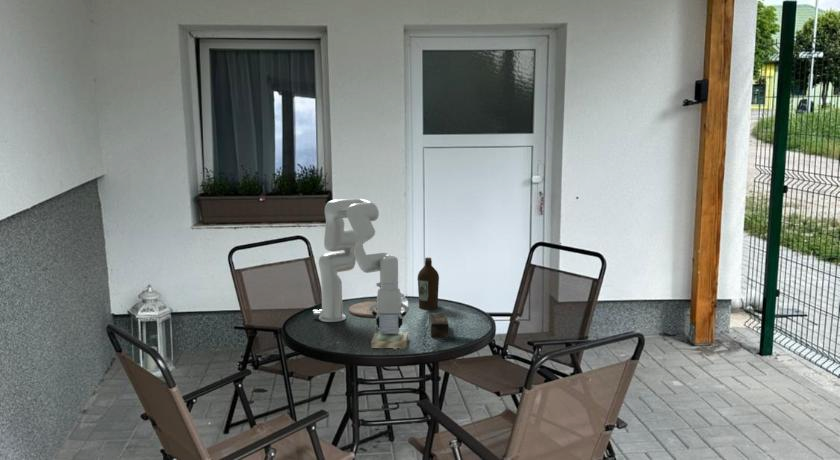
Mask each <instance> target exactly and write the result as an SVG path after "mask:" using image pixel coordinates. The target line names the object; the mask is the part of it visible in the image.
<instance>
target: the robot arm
mask: <svg viewBox="0 0 840 460" xmlns="http://www.w3.org/2000/svg"><path fill="white" fill-rule="evenodd" d="M379 214H380V213H379V209H378V207H377V205H376V204H375V203H374V202H372V201H369V200H367V199H363V198H358V197H357V198H342V199H332V200H329V201H327V203H326V204H325V206H324V216H325V230H324V238H323V239H324V240H323V241H324V242H323V245H324V249H325V250H326V251H328V252H326V253H324V254H322V255H321V256H319V258H318V266H319V268H318V269H319V272H320V273H319V274H320V281H321V283H320V284H321V285H320V286H321V308H320V309H319V310H318V309H313V310H312V313H313V315H315V316H318V315H319V316H318V320H319V321H321V322H324V323H337V322H342V321H344V320H346V318H347V316H346V315H345V313H343V282H342V279H341V277H340V276H339V275H338V273H342V272H349V271H352V270H353V269H354V268H355V266H356V263H357V265H358V267H359V269H360V270H361V271H362V272H363V273H367V274H368V273H375V272H379V282H377V283H376V287H378V289H377V293H376V294H377V295H376V301H377V303H375V304H374V305H372V306H371V307H370V308H369V309H370V311H371V312H372V314H373V315H374V316H375V317H374V318H376V321H375V323H376V326H377V328H379V314H398V316H399V319H398V327H399V329H401V327H402V326H403V318H404V317H405V316H406V315H407V313H408V312H409V311H410V307H409V306H407V305H406V304H405V303H403V302H402V295H401V290H400V288H399V259H398V257H396V256H395V255H394V256H393V255H390V254H389V253H387V252H379V253H372V254H367V253H366V251H365V248H364V244H365V243H367V242H368V241H370V240H372V239H373V238H374V236H375V235H376V230H375V227H374V225H373V224H372V222H375V221H377V220H378V218H379ZM344 219H348V222H349V224H350V226H351V228H352V229H349V228H346V229H345V220H344ZM375 307H377V312H378V313H376V312H375V311H374V308H375ZM402 308H403V309H404V311H403V312H402Z"/></svg>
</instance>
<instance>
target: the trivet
mask: <svg viewBox="0 0 840 460" xmlns="http://www.w3.org/2000/svg"><path fill="white" fill-rule="evenodd" d="M376 301H377V300H376ZM376 301H364V302H358V303H355V304H351V306H349V308H348V312H349V314H350V315H352V314H353V315H352V316H355V315H356V317H360V318H376V317H375V316H374V315H373V314H372V312H371V311H370V309H369V308H370V307H371V306H372V305H374V304H375V303H376ZM374 311H375V312H376V313H378V312H377V310H376V307H375V308H374Z"/></svg>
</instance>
